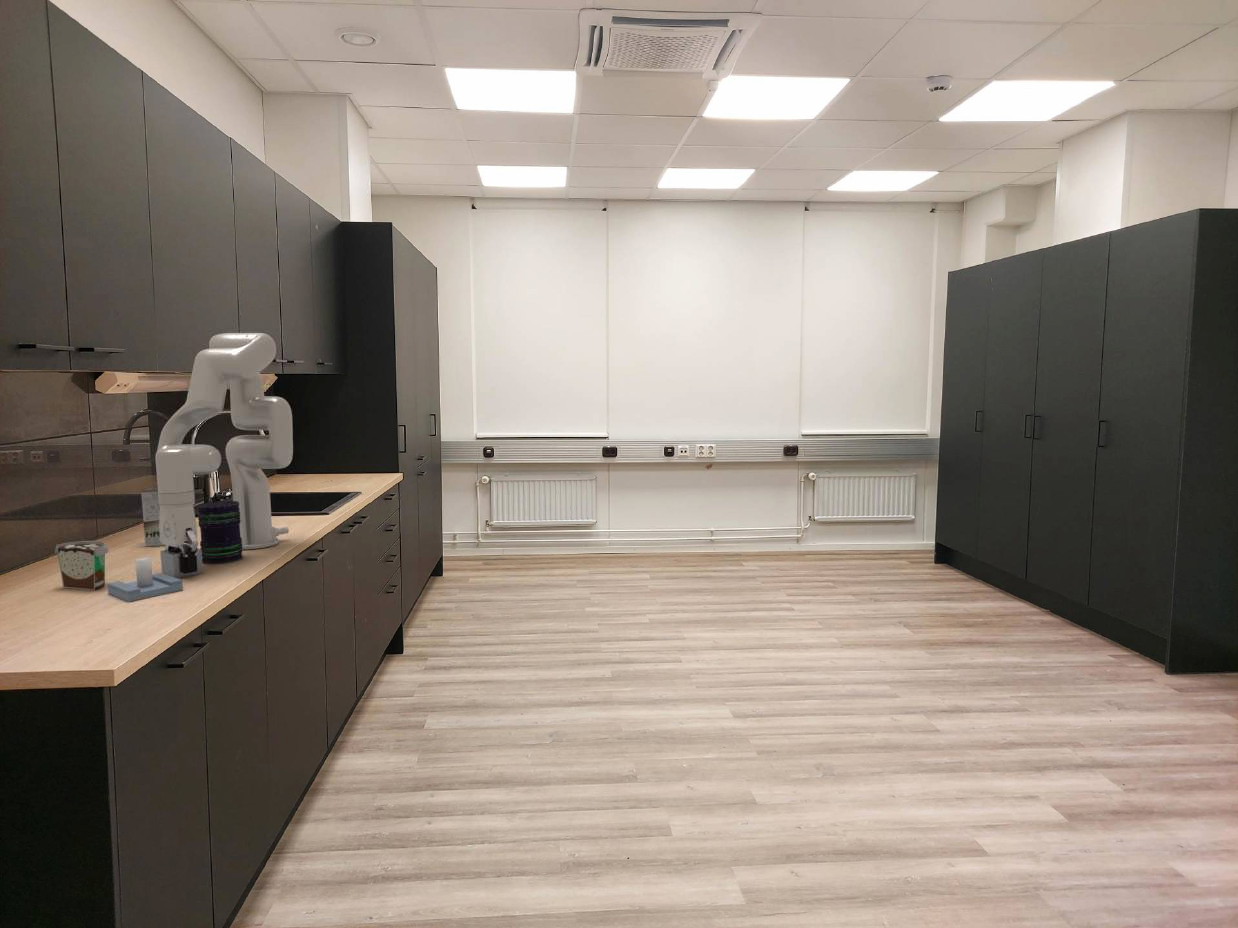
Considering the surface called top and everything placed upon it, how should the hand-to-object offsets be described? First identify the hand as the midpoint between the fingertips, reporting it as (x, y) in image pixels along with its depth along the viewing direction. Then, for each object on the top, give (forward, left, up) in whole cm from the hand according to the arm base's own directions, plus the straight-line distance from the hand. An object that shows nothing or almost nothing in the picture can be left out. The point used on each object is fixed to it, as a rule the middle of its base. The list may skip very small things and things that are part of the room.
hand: (182, 569), depth 184 cm
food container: (+17, -7, -1) cm, 18 cm away
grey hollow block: (0, 0, -1) cm, 1 cm away
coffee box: (-13, -43, -1) cm, 45 cm away
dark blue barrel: (-13, -7, -1) cm, 15 cm away
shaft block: (+12, +9, -1) cm, 15 cm away
